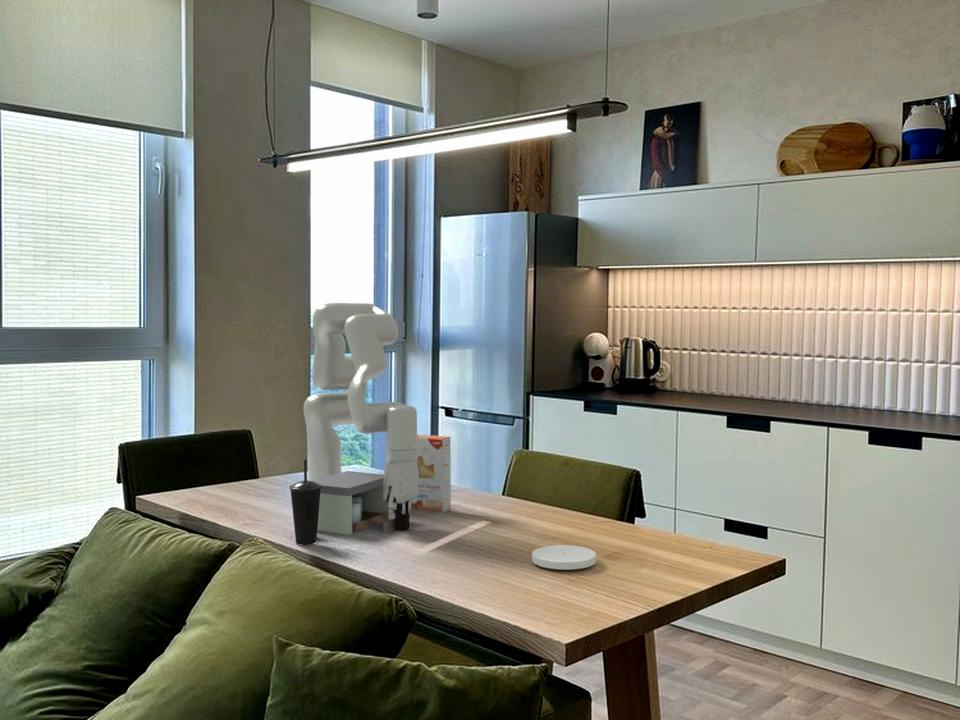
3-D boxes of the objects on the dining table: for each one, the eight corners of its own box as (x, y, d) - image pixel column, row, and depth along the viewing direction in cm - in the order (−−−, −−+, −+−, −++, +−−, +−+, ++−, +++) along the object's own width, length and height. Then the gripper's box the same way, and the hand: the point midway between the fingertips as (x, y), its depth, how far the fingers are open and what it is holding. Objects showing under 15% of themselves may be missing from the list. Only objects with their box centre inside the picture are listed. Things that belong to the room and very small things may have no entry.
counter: (348, 517, 241) (347, 470, 241) (428, 527, 230) (427, 479, 229) (302, 532, 224) (302, 483, 224) (386, 544, 213) (386, 492, 212)
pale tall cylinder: (350, 517, 236) (350, 494, 236) (365, 519, 234) (365, 496, 233) (339, 521, 232) (339, 498, 231) (355, 523, 230) (354, 499, 229)
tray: (349, 518, 238) (348, 506, 238) (409, 526, 229) (409, 514, 229) (315, 530, 226) (315, 517, 226) (378, 538, 217) (378, 525, 217)
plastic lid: (546, 553, 206) (546, 542, 206) (604, 560, 200) (604, 549, 200) (521, 569, 194) (521, 557, 194) (583, 577, 188) (583, 565, 187)
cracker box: (396, 510, 249) (395, 435, 248) (406, 506, 254) (405, 433, 253) (442, 515, 243) (442, 438, 242) (451, 510, 249) (451, 435, 248)
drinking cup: (328, 539, 217) (327, 457, 216) (312, 547, 210) (311, 463, 209) (300, 537, 220) (299, 456, 219) (283, 545, 213) (282, 461, 212)
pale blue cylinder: (348, 524, 228) (347, 500, 228) (364, 526, 226) (364, 502, 226) (337, 528, 224) (337, 504, 224) (354, 530, 222) (354, 506, 222)
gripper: (405, 450, 230) (405, 521, 231) (372, 459, 217) (372, 533, 218) (430, 452, 227) (430, 524, 228) (398, 461, 214) (398, 537, 215)
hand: (402, 528), depth 223 cm, fingers closed
